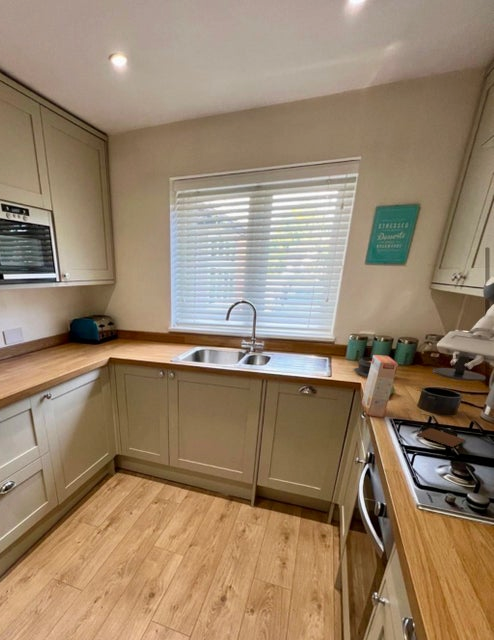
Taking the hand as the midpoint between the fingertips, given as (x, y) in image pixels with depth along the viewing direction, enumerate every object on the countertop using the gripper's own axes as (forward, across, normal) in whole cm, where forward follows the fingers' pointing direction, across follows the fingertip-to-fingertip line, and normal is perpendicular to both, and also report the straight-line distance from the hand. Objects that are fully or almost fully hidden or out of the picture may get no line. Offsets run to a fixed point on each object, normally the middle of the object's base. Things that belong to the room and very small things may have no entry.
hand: (459, 366), depth 104 cm
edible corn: (+4, -33, +28) cm, 44 cm away
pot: (+3, -12, +29) cm, 32 cm away
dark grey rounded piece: (-14, -59, +46) cm, 76 cm away
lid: (+2, 0, +2) cm, 3 cm away
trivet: (+19, +3, +13) cm, 24 cm away
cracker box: (+19, -22, +14) cm, 32 cm away
